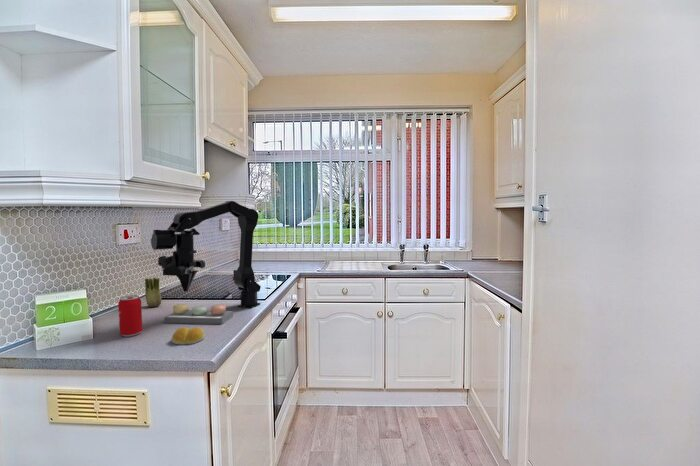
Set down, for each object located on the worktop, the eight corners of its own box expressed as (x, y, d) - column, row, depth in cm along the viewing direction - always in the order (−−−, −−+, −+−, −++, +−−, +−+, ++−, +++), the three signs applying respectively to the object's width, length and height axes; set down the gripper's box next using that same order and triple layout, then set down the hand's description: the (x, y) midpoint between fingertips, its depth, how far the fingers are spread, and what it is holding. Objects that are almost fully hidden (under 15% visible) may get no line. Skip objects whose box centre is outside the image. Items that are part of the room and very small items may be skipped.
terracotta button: (214, 309, 131) (214, 304, 131) (227, 310, 130) (227, 304, 130) (208, 313, 126) (208, 308, 126) (221, 314, 125) (221, 308, 125)
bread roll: (201, 344, 106) (201, 331, 106) (169, 346, 104) (168, 333, 104) (207, 334, 114) (207, 322, 114) (177, 336, 112) (177, 324, 112)
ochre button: (178, 309, 132) (177, 303, 132) (191, 309, 131) (190, 304, 131) (170, 313, 127) (169, 307, 127) (183, 313, 126) (183, 307, 126)
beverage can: (138, 329, 118) (136, 293, 118) (145, 333, 114) (144, 296, 114) (116, 334, 114) (114, 297, 113) (123, 339, 110) (122, 300, 109)
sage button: (196, 311, 131) (196, 306, 131) (209, 311, 131) (209, 306, 131) (189, 315, 126) (189, 309, 126) (202, 315, 126) (202, 310, 126)
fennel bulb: (144, 306, 146) (142, 277, 145) (155, 304, 150) (154, 275, 149) (152, 308, 143) (151, 279, 142) (164, 306, 147) (162, 277, 146)
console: (178, 315, 134) (178, 309, 134) (232, 316, 132) (232, 310, 132) (164, 322, 125) (164, 316, 125) (222, 324, 123) (222, 318, 123)
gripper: (177, 245, 137) (178, 285, 138) (146, 250, 118) (147, 296, 119) (205, 245, 136) (206, 286, 137) (179, 250, 118) (180, 297, 119)
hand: (185, 291), depth 128 cm, fingers closed
